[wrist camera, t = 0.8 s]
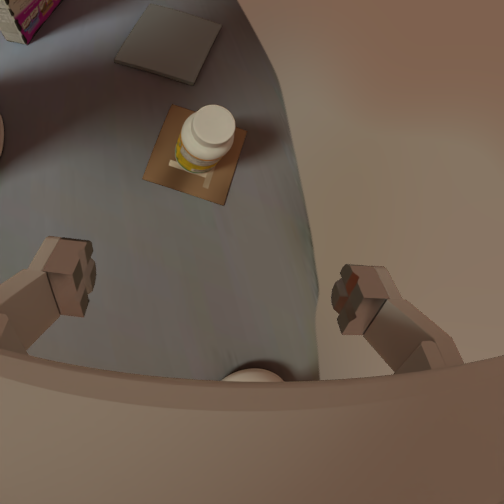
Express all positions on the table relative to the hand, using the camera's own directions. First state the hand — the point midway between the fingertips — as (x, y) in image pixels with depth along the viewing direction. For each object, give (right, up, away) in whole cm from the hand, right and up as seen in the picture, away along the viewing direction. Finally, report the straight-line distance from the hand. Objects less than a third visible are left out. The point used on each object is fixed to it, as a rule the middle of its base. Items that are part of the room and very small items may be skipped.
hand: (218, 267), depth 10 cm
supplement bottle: (-6, +12, +27) cm, 30 cm away
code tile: (-6, +12, +27) cm, 30 cm away
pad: (-10, +28, +25) cm, 39 cm away
